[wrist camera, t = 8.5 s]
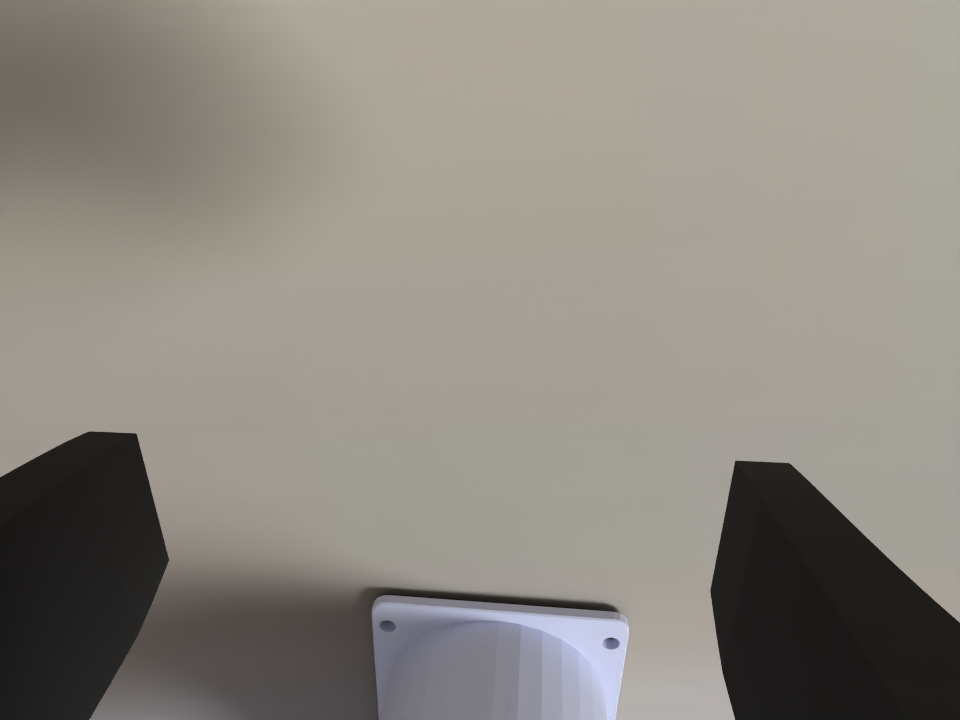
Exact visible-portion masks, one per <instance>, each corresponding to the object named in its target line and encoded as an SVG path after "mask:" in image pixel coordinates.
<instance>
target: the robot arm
mask: <svg viewBox="0 0 960 720" xmlns="http://www.w3.org/2000/svg"><path fill="white" fill-rule="evenodd" d="M168 561H169V558H168V554H167V550H166V547H165V543H164V539H163V535H162V531H161V527H160V523H159V519H158V515H157V512H156V508H155V504H154V500H153V496H152V492H151V488H150V484H149V480H148V477H147V473H146V469H145V465H144V461H143V457H142V453H141V449H140V446H139V442H138V438H137V434H133V433H111V432H87V433H85V434H82V435H80V436H78V437H76V438H74V439H71V440H69V441H67V442H65V443H63V444H61V445H59V446H57V447H55V448H53V449H52V450H50V451H48V452H46V453H44V454H42V455H40V456H38V457H36V458H35V459H33V460H31V461H29V462H27V463H25V464H24V465H22V466H20V467H18V468H16V469H15V470H13V471H11V472H9V473H7V474H6V475H4V476H2V477H0V720H89V719H90V717H91V716H92V714H93V712H94V710H95V709H96V707H97V705H98V704H99V702H100V700H101V699H102V697H103V695H104V693H105V692H106V690H107V688H108V686H109V685H110V683H111V681H112V680H113V678H114V676H115V674H116V673H117V671H118V669H119V667H120V666H121V664H122V662H123V660H124V659H125V657H126V655H127V653H128V652H129V650H130V648H131V646H132V644H133V643H134V641H135V639H136V637H137V636H138V633H139V631H140V629H141V627H142V624H143V622H144V620H145V618H146V615H147V613H148V611H149V608H150V606H151V604H152V602H153V599H154V597H155V594H156V592H157V589H158V587H159V584H160V581H161V579H162V576H163V574H164V571H165V569H166V566H167V564H168ZM711 599H712V606H713V613H714V620H715V627H716V634H717V640H718V647H719V653H720V659H721V665H722V671H723V675H724V679H725V683H726V687H727V691H728V694H729V698H730V702H731V705H732V709H733V713H734V716H735V720H960V623H959V622H958V621H957V620H956V619H955V618H954V617H952V616H951V615H950V614H949V613H948V612H947V611H946V610H944V609H943V608H942V607H941V606H940V605H939V604H938V603H937V602H935V601H934V600H933V599H932V598H931V597H930V596H929V595H928V594H927V593H925V592H924V591H923V590H922V589H921V588H920V587H919V586H918V585H917V584H915V583H914V582H913V581H912V580H911V579H910V578H909V577H908V576H907V575H906V574H905V573H904V572H903V571H901V570H900V569H899V568H898V567H897V566H896V565H895V564H894V563H893V562H892V561H891V560H890V559H889V558H887V557H886V556H885V555H884V554H883V553H882V552H881V551H880V550H879V549H878V548H877V547H876V546H875V545H874V544H873V543H872V542H871V541H870V540H869V539H868V538H867V537H865V536H864V535H863V534H862V533H861V532H860V531H859V530H858V529H857V528H856V527H855V526H854V525H853V524H852V523H851V522H850V521H849V520H848V519H847V518H846V517H845V516H844V515H843V514H842V513H841V512H840V511H839V510H838V509H837V508H836V507H835V506H834V505H833V504H832V503H831V502H830V501H828V500H827V499H826V498H825V497H824V496H823V495H822V494H821V493H820V492H819V491H818V490H817V489H816V488H815V487H814V486H813V485H812V484H811V483H810V482H809V481H808V480H807V479H806V478H805V477H804V476H803V475H802V474H801V473H800V472H798V471H797V470H796V469H795V468H794V467H793V466H792V465H791V464H790V463H773V462H751V461H735V465H734V471H733V476H732V481H731V486H730V492H729V497H728V502H727V507H726V512H725V518H724V523H723V528H722V533H721V539H720V544H719V549H718V554H717V559H716V565H715V570H714V575H713V580H712V586H711ZM371 615H372V629H373V643H374V657H375V672H376V686H377V700H378V715H379V720H615V718H616V711H617V705H618V699H619V692H620V686H621V680H622V673H623V667H624V661H625V655H626V648H627V642H628V636H629V627H628V620H627V619H626V617H625V616H624V615H622V614H620V613H617V612H610V611H597V610H583V609H570V608H556V607H543V606H529V605H516V604H502V603H489V602H475V601H461V600H448V599H434V598H421V597H407V596H394V595H383V596H380V597H378V598H377V599H376V600H375V601H374V604H373V608H372V612H371ZM386 620H388V621H391V622H392V623H390V622H386ZM607 638H615V639H607Z"/></svg>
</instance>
